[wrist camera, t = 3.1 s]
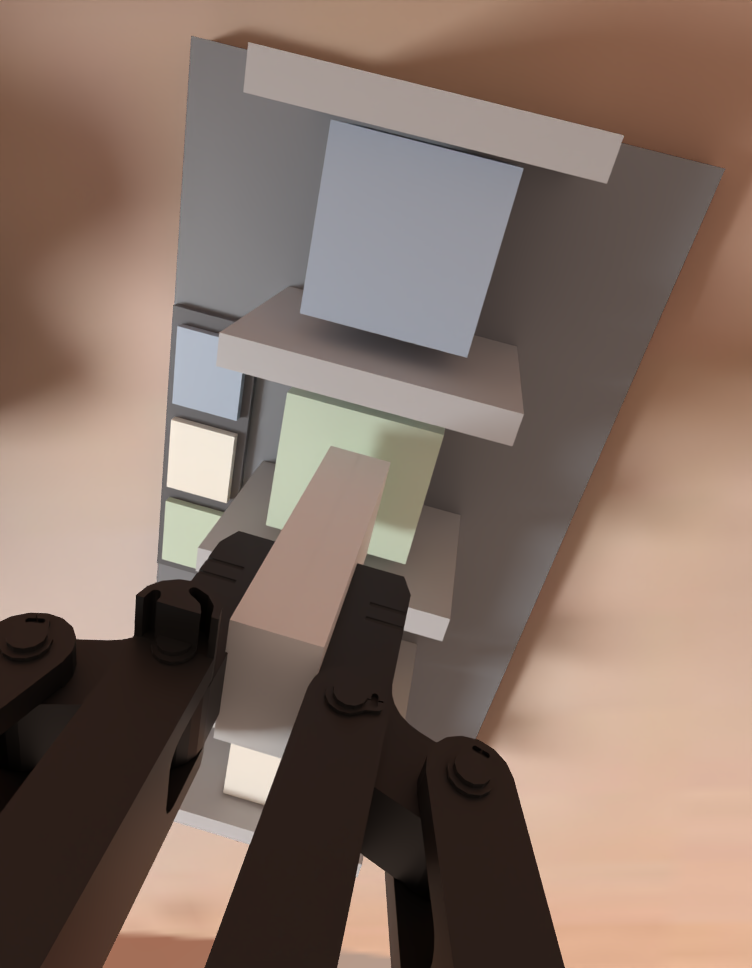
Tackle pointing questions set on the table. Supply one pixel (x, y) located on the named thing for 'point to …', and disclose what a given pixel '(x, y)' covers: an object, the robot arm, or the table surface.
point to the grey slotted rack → (408, 354)
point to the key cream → (250, 774)
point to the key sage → (365, 432)
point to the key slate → (406, 236)
